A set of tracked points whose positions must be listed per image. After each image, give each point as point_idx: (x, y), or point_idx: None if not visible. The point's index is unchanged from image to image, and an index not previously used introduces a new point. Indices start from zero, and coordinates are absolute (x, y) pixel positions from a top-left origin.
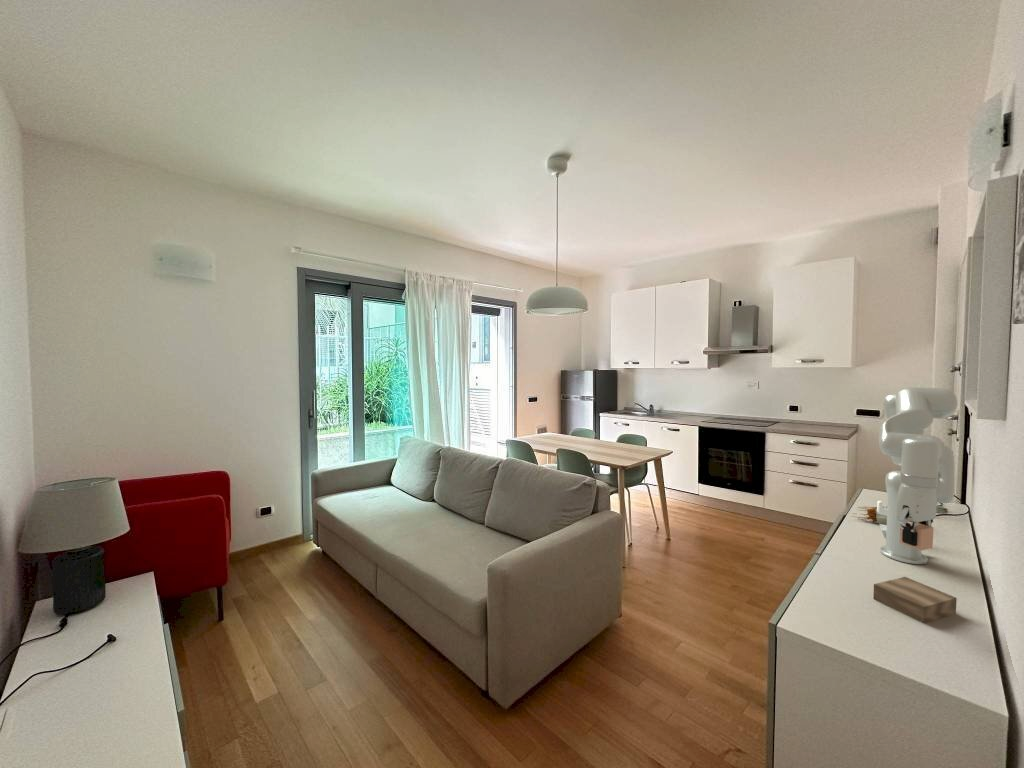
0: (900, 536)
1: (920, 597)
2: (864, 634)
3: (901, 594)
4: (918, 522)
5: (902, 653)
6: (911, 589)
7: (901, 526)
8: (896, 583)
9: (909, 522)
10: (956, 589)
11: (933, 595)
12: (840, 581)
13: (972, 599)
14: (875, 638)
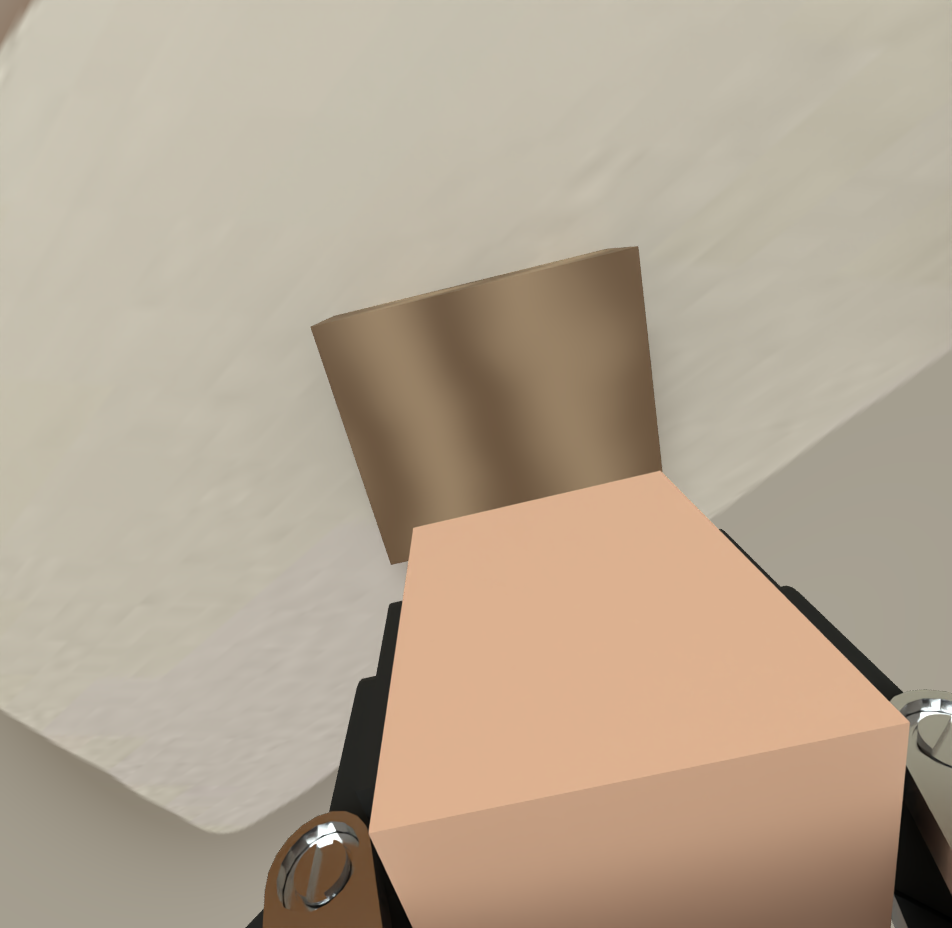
0: (407, 590)
1: (463, 488)
2: (58, 574)
3: (382, 453)
4: (926, 837)
5: (135, 669)
6: (502, 407)
7: (388, 763)
8: (479, 330)
9: (693, 804)
10: (939, 258)
11: (564, 473)
12: (282, 77)
13: (882, 362)
14: (90, 597)
